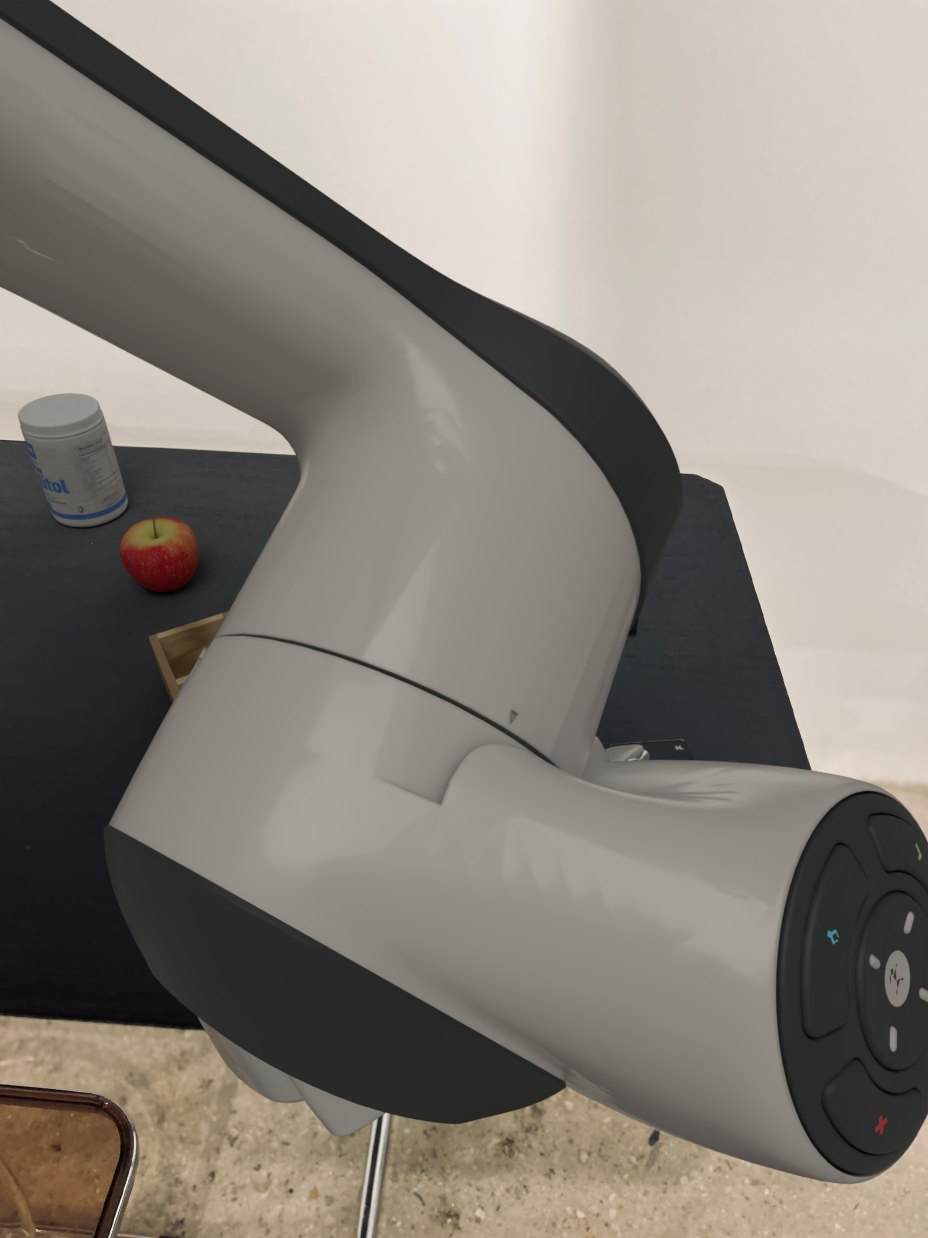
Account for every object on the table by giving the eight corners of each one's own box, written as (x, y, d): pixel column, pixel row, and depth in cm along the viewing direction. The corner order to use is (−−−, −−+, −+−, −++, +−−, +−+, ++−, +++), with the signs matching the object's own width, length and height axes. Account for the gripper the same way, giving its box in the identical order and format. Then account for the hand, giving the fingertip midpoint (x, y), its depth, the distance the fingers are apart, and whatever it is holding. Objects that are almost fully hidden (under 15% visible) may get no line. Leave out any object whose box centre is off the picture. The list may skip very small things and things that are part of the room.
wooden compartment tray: (204, 786, 70) (189, 741, 66) (162, 680, 80) (147, 636, 76) (362, 723, 76) (357, 678, 72) (304, 632, 86) (297, 589, 82)
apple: (215, 564, 96) (198, 493, 89) (190, 607, 89) (169, 535, 83) (150, 559, 96) (128, 489, 90) (120, 602, 90) (95, 530, 83)
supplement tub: (38, 521, 102) (-4, 417, 93) (88, 487, 109) (53, 386, 100) (98, 536, 100) (61, 431, 90) (145, 500, 107) (115, 398, 97)
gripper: (636, 683, 33) (483, 714, 45) (195, 1004, 23) (148, 935, 35) (703, 811, 34) (534, 808, 46) (297, 1183, 24) (216, 1054, 36)
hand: (363, 865), depth 40 cm, fingers open, 8 cm apart
